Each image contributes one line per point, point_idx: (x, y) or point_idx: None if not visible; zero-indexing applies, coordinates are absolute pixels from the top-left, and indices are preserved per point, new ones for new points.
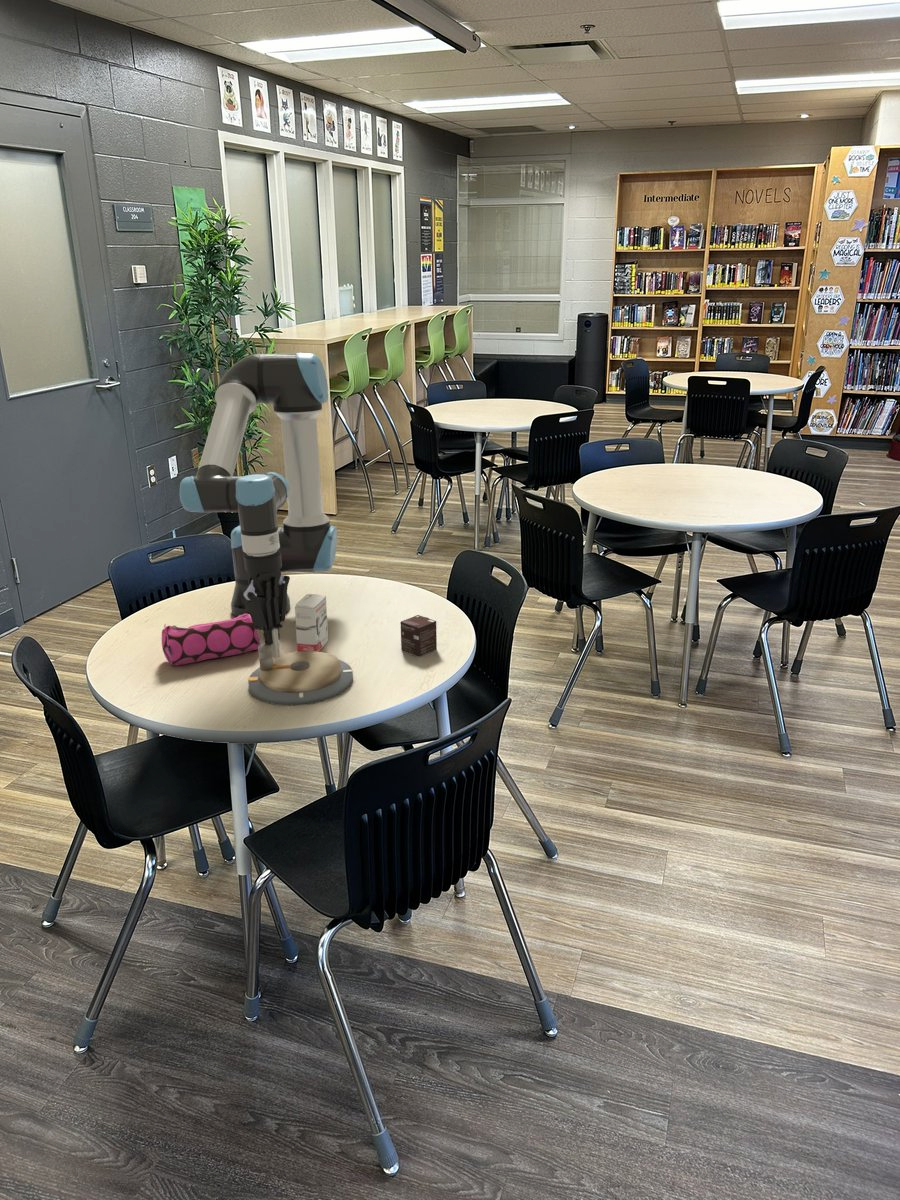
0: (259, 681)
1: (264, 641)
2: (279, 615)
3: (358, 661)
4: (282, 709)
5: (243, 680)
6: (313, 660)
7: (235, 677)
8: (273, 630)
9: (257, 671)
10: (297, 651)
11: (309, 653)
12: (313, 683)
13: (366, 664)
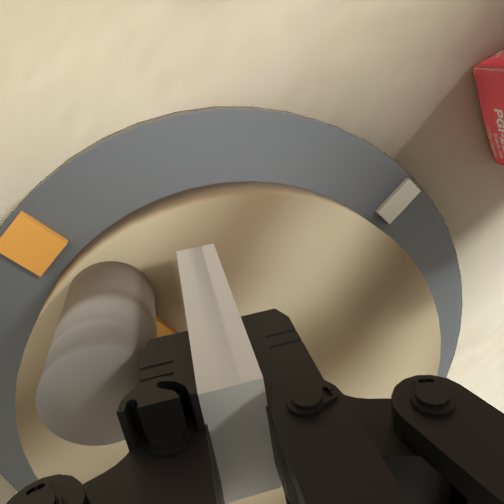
0: (47, 283)
1: (141, 363)
2: (456, 491)
3: (500, 348)
4: (5, 493)
5: (38, 109)
6: (342, 385)
7: (23, 24)
8: (224, 495)
9: (122, 162)
10: (479, 70)
11: (400, 305)
12: None
13: (488, 386)
